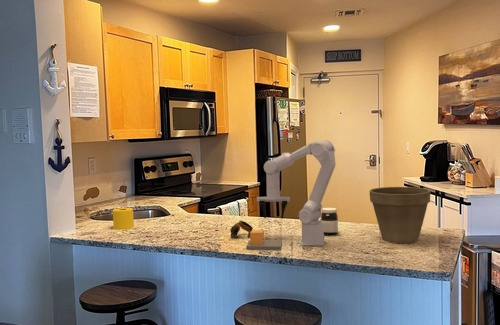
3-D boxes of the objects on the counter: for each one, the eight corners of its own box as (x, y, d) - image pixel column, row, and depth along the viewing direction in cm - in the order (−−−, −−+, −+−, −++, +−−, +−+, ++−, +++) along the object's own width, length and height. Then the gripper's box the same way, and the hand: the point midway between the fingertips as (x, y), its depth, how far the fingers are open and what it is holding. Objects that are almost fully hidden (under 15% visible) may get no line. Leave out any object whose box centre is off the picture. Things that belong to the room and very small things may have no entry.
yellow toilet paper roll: (136, 225, 239) (135, 207, 238) (129, 229, 229) (128, 211, 228) (118, 225, 240) (117, 207, 239) (110, 229, 230) (109, 211, 229)
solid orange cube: (264, 241, 193) (263, 230, 192) (262, 244, 188) (262, 232, 187) (252, 241, 193) (251, 229, 193) (250, 244, 188) (250, 232, 188)
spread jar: (337, 236, 205) (337, 211, 204) (312, 236, 207) (312, 210, 206) (338, 230, 216) (337, 206, 215) (314, 230, 219) (313, 206, 218)
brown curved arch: (235, 234, 216) (243, 219, 215) (249, 245, 211) (258, 230, 210) (221, 233, 206) (230, 217, 205) (236, 244, 201) (245, 229, 200)
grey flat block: (282, 243, 194) (281, 232, 194) (280, 250, 184) (280, 238, 184) (249, 243, 196) (249, 232, 196) (246, 249, 186) (246, 237, 186)
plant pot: (358, 236, 204) (357, 188, 202) (403, 230, 213) (403, 184, 211) (394, 249, 181) (394, 195, 179) (443, 243, 189) (443, 191, 188)
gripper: (289, 186, 205) (290, 216, 206) (257, 186, 207) (258, 216, 208) (289, 188, 198) (289, 219, 199) (256, 188, 200) (256, 219, 201)
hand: (273, 217), depth 203 cm, fingers open, 7 cm apart
